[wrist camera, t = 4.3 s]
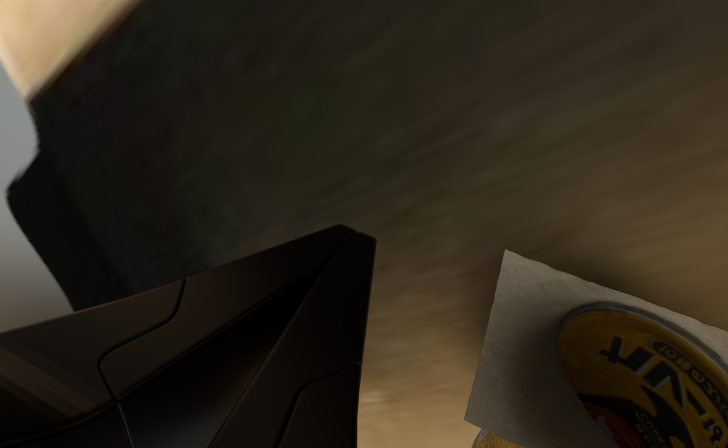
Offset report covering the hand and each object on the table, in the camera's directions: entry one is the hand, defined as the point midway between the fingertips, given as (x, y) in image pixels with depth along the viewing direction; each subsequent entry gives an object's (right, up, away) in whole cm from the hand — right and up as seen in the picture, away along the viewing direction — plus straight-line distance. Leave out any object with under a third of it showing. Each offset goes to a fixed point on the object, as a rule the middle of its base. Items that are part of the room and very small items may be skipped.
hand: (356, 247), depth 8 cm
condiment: (+8, -4, +3) cm, 10 cm away
